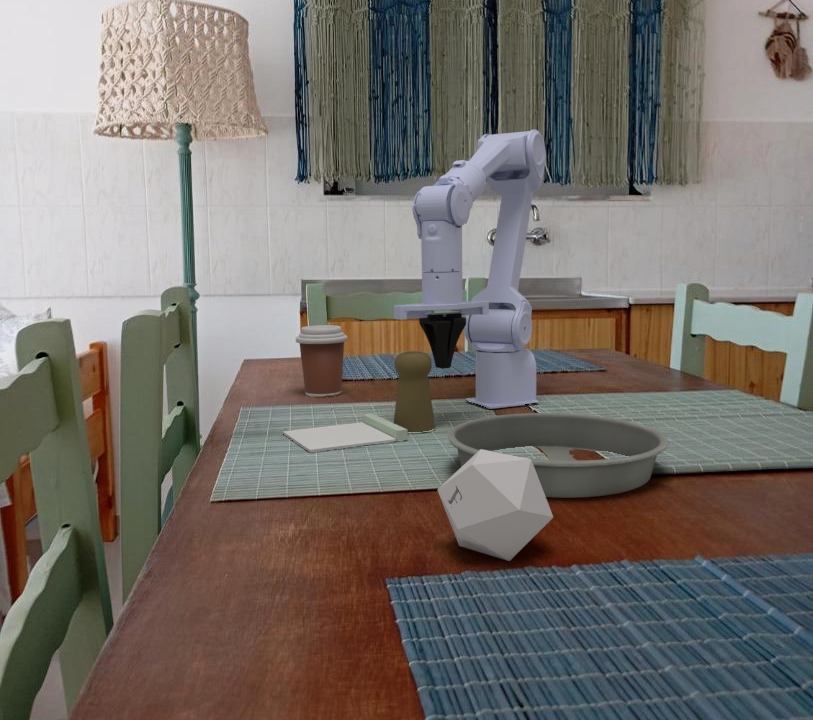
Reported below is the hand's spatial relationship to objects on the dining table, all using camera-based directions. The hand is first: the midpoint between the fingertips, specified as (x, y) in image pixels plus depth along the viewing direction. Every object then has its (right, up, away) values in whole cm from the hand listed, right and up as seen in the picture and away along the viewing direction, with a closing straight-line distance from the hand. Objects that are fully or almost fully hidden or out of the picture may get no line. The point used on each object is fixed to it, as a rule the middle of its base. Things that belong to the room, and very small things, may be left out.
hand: (443, 367), depth 117 cm
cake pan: (+12, -12, -23) cm, 28 cm away
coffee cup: (-20, -5, +28) cm, 35 cm away
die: (+2, -15, -47) cm, 49 cm away
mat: (-15, -10, -6) cm, 18 cm away
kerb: (-8, -9, -3) cm, 13 cm away
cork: (-4, -9, -1) cm, 10 cm away
